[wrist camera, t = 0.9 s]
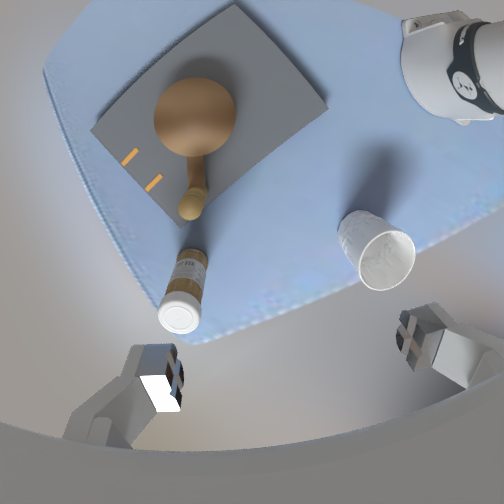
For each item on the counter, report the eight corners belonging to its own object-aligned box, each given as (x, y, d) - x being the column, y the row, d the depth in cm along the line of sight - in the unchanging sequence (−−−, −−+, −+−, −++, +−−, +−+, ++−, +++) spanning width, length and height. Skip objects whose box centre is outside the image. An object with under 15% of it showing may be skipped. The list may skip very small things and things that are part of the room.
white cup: (341, 264, 44) (366, 300, 35) (325, 218, 41) (351, 247, 31) (386, 243, 43) (419, 274, 34) (374, 197, 40) (410, 219, 30)
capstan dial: (159, 84, 30) (139, 74, 23) (235, 79, 30) (236, 67, 23) (163, 201, 36) (146, 221, 29) (235, 199, 36) (236, 219, 29)
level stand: (234, 9, 28) (234, 3, 26) (324, 109, 34) (329, 108, 32) (96, 129, 33) (89, 130, 31) (183, 223, 40) (180, 228, 38)
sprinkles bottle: (175, 272, 43) (155, 331, 30) (179, 244, 41) (158, 296, 29) (206, 278, 43) (197, 339, 31) (211, 250, 42) (202, 305, 29)
